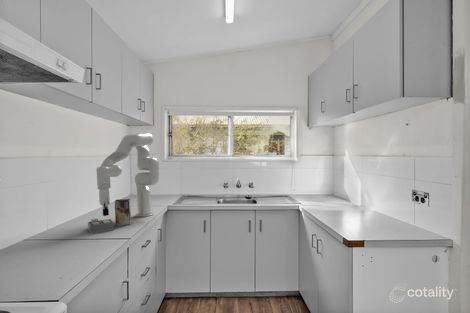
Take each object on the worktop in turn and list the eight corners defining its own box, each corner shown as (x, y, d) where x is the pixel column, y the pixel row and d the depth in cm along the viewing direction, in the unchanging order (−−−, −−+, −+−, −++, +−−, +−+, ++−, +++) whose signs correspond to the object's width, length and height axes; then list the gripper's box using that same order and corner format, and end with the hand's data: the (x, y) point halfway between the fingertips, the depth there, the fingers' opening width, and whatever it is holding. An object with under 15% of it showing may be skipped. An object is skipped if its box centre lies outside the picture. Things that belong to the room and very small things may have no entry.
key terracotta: (92, 228, 187) (92, 222, 187) (98, 227, 189) (98, 222, 189) (93, 229, 184) (92, 224, 184) (99, 229, 186) (99, 223, 185)
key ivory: (101, 225, 195) (101, 219, 195) (108, 224, 197) (107, 218, 197) (102, 226, 192) (102, 220, 192) (109, 225, 194) (108, 219, 194)
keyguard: (88, 229, 193) (87, 221, 192) (110, 225, 199) (110, 218, 199) (90, 233, 181) (90, 225, 181) (114, 230, 188) (113, 222, 188)
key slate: (91, 224, 192) (90, 219, 192) (97, 223, 194) (97, 218, 194) (91, 225, 189) (91, 220, 189) (98, 225, 191) (98, 219, 191)
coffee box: (131, 222, 207) (130, 198, 207) (130, 224, 201) (129, 200, 200) (117, 223, 205) (116, 199, 205) (115, 226, 199) (114, 200, 199)
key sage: (103, 227, 190) (103, 221, 190) (109, 226, 192) (109, 220, 192) (104, 228, 187) (104, 222, 187) (110, 227, 189) (110, 221, 189)
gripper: (95, 185, 199) (97, 214, 200) (99, 188, 186) (101, 218, 187) (108, 184, 203) (110, 212, 203) (112, 186, 190) (114, 216, 191)
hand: (105, 215), depth 195 cm, fingers closed
